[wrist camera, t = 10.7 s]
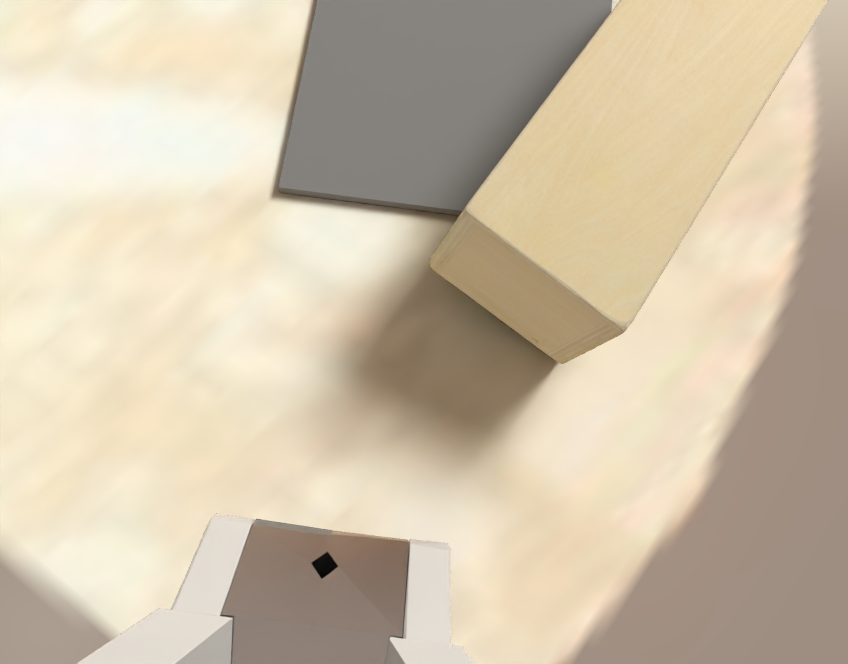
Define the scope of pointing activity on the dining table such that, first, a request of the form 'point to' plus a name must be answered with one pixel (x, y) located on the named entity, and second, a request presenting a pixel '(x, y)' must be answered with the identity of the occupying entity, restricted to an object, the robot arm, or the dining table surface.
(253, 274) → the dining table surface
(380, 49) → the mat
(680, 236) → the wooden rectangular block
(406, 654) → the robot arm
